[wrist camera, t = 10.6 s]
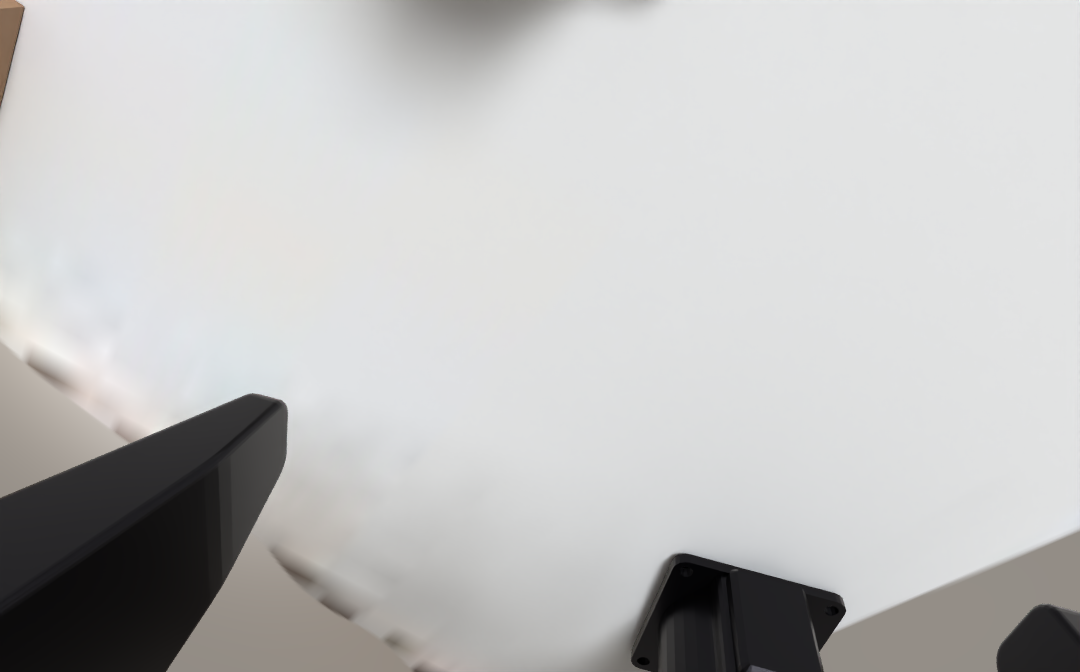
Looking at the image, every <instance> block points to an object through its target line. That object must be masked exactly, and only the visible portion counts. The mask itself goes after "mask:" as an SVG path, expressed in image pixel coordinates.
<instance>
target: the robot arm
mask: <svg viewBox="0 0 1080 672" xmlns="http://www.w3.org/2000/svg"><path fill="white" fill-rule="evenodd" d="M287 421H288V410H287V406H286V404H285V403H284V402H283V401H282V400H279V399H275V398H271V397H268V396H264V395H260V394H254V393H252V394H247V395H244V396H242V397H240V398H237V399H235V400H233V401H230V402H228V403H225V404H223V405H221V406H218V407H216V408H214V409H211V410H209V411H206V412H204V413H202V414H199V415H197V416H194V417H192V418H190V419H187V420H185V421H183V422H180V423H178V424H175V425H173V426H171V427H168V428H166V429H164V430H161V431H159V432H156V433H154V434H152V435H149V436H147V437H144V438H142V439H140V440H137V441H135V442H133V443H130V444H128V445H125V446H123V447H121V448H118V449H116V450H114V451H111V452H109V453H106V454H104V455H102V456H99V457H97V458H95V459H92V460H90V461H87V462H85V463H83V464H80V465H78V466H75V467H73V468H71V469H68V470H66V471H64V472H61V473H59V474H57V475H54V476H52V477H49V478H47V479H45V480H42V481H40V482H37V483H35V484H33V485H30V486H28V487H25V488H23V489H21V490H18V491H16V492H14V493H11V494H9V495H6V496H4V497H2V498H0V672H166V671H167V669H168V668H169V666H170V664H171V663H172V662H173V660H174V658H175V657H176V656H177V654H178V653H179V651H180V650H181V648H182V647H183V645H184V644H185V642H186V641H187V639H188V638H189V636H190V635H191V633H192V632H193V630H194V629H195V627H196V626H197V624H198V622H199V621H200V620H201V618H202V616H203V615H204V613H205V612H206V611H207V609H208V608H209V606H210V604H211V603H212V601H213V600H214V598H215V597H216V594H217V593H218V592H219V590H220V589H221V587H222V585H223V584H224V582H225V580H226V578H227V576H228V574H229V572H230V571H231V569H232V567H233V565H234V563H235V561H236V559H237V557H238V555H239V554H240V552H241V550H242V548H243V546H244V544H245V542H246V540H247V538H248V536H249V534H250V532H251V530H252V528H253V526H254V525H255V523H256V521H257V519H258V517H259V515H260V513H261V511H262V509H263V507H264V505H265V503H266V501H267V499H268V497H269V496H270V494H271V492H272V490H273V488H274V486H275V484H276V482H277V480H278V478H279V476H280V474H281V472H282V469H283V467H284V463H285V460H286V453H287ZM682 567H689V568H682ZM829 606H831V607H829ZM845 613H846V609H845V605H844V602H843V598H842V597H841V596H840V595H838V594H835V593H832V592H828V591H824V590H821V589H817V588H813V587H809V586H806V585H802V584H798V583H795V582H791V581H787V580H783V579H780V578H776V577H772V576H768V575H765V574H761V573H757V572H754V571H750V570H746V569H742V568H739V567H735V566H731V565H728V564H724V563H720V562H716V561H713V560H709V559H705V558H701V557H698V556H694V555H690V554H680V555H678V556H676V557H675V558H674V559H673V560H672V563H671V565H670V567H669V569H668V571H667V574H666V576H665V578H664V580H663V582H662V584H661V587H660V589H659V591H658V593H657V595H656V598H655V600H654V602H653V604H652V606H651V609H650V611H649V613H648V615H647V617H646V620H645V622H644V624H643V626H642V628H641V630H640V633H639V635H638V637H637V639H636V641H635V644H634V646H633V648H632V652H631V662H632V664H633V665H634V666H635V667H638V668H640V669H644V670H647V671H651V672H824V671H823V666H822V662H821V658H820V653H819V652H820V650H821V649H822V647H823V645H824V644H825V643H826V641H827V640H828V638H829V637H830V635H831V634H832V633H833V631H834V630H835V628H836V627H837V625H838V624H839V622H840V621H841V619H842V618H843V616H844V615H845ZM997 670H998V672H1080V613H1079V612H1077V611H1074V610H1070V609H1066V608H1063V607H1059V606H1055V605H1051V604H1040V605H1038V606H1035V607H1034V608H1033V609H1032V610H1030V612H1029V613H1028V614H1027V615H1026V616H1025V617H1024V618H1023V619H1022V621H1021V622H1020V623H1019V624H1018V625H1017V626H1016V627H1015V629H1014V630H1013V631H1012V632H1011V633H1010V634H1009V635H1008V636H1007V637H1006V638H1005V640H1004V641H1003V642H1002V643H1001V645H1000V647H999V649H998V653H997Z"/></svg>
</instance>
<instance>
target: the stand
mask: <svg viewBox="0 0 1080 672" xmlns="http://www.w3.org/2000/svg"><path fill="white" fill-rule="evenodd" d="M23 10H24V6H23V5H21V4H20V3H18V2H17V1H15V0H0V105H1V100H2V96H3V92H4V88H5V84H6V80H7V76H8V72H9V67H10V63H11V59H12V55H13V51H14V47H15V43H16V39H17V35H18V30H19V26H20V22H21V18H22V14H23Z"/></svg>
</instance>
